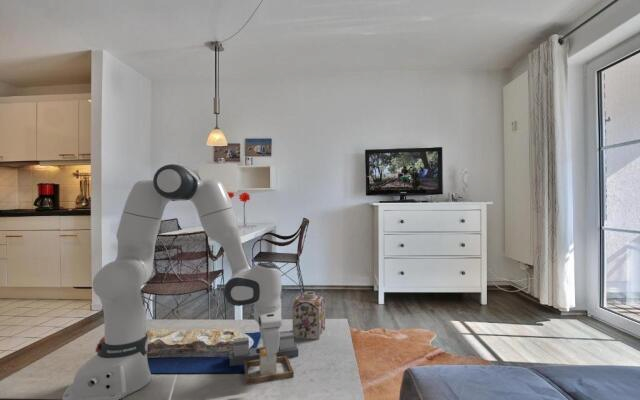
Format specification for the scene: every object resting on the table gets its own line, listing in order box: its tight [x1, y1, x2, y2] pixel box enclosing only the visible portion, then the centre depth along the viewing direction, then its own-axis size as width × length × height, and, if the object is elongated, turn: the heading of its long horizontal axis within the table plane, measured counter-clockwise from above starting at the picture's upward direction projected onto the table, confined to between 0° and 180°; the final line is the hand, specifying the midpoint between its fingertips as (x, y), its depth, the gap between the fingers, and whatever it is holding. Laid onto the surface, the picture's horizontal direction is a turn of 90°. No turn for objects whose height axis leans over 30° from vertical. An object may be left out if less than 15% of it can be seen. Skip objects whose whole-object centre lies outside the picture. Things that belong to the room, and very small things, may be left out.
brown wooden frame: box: [243, 356, 295, 385], centre depth 105 cm, size 15×12×2 cm
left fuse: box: [233, 337, 250, 357], centre depth 112 cm, size 5×3×7 cm, turn 107°
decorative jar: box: [292, 291, 326, 340], centre depth 136 cm, size 12×12×18 cm
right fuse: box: [279, 331, 295, 350], centre depth 116 cm, size 5×3×7 cm, turn 107°
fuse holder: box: [229, 342, 299, 367], centre depth 114 cm, size 24×6×4 cm, turn 107°
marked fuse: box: [259, 349, 277, 376], centre depth 105 cm, size 5×3×7 cm, turn 107°
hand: (267, 355), depth 105 cm, fingers open, 8 cm apart
